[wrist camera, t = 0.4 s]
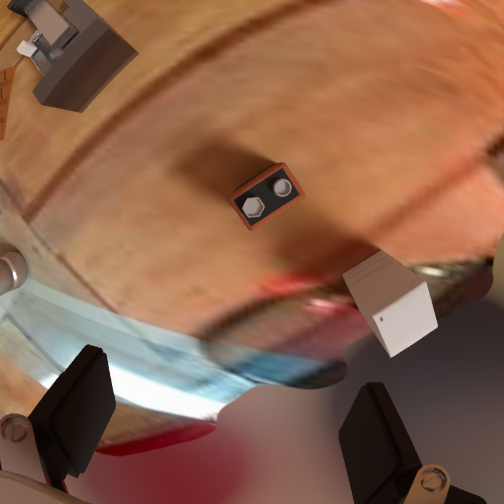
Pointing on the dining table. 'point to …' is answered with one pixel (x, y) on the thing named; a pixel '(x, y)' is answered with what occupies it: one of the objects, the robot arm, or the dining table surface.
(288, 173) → the battery
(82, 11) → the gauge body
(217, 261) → the dining table surface
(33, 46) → the small white cube
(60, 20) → the plunger
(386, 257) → the supplement box
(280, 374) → the dining table surface
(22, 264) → the plastic bottle
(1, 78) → the chocolate bar
